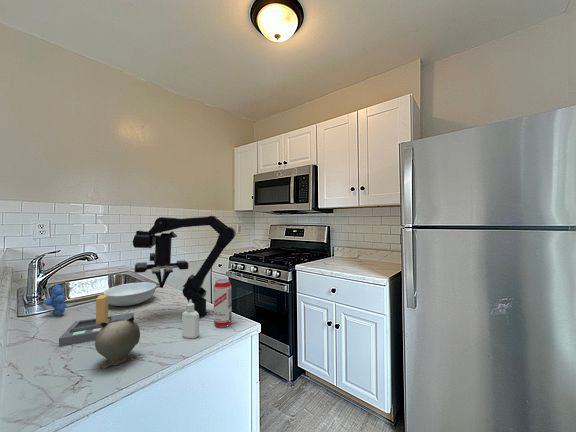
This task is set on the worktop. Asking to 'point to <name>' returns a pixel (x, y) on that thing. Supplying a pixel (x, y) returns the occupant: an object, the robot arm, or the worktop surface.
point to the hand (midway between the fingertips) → (161, 287)
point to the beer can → (222, 303)
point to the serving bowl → (130, 293)
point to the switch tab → (102, 309)
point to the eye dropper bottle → (190, 322)
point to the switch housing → (86, 330)
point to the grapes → (57, 300)
